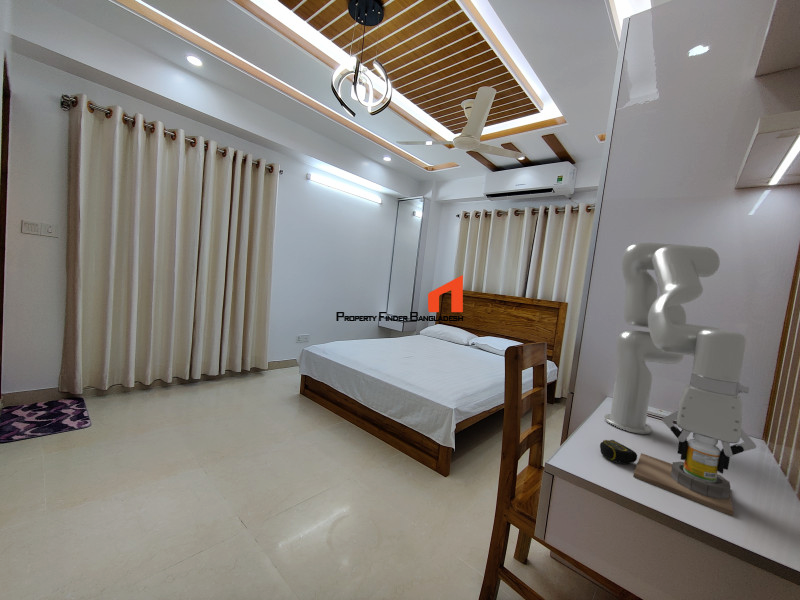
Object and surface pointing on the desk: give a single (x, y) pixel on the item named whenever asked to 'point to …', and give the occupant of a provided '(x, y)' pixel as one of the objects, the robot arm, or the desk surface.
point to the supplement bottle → (702, 458)
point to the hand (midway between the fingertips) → (700, 463)
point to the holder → (685, 483)
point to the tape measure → (617, 452)
